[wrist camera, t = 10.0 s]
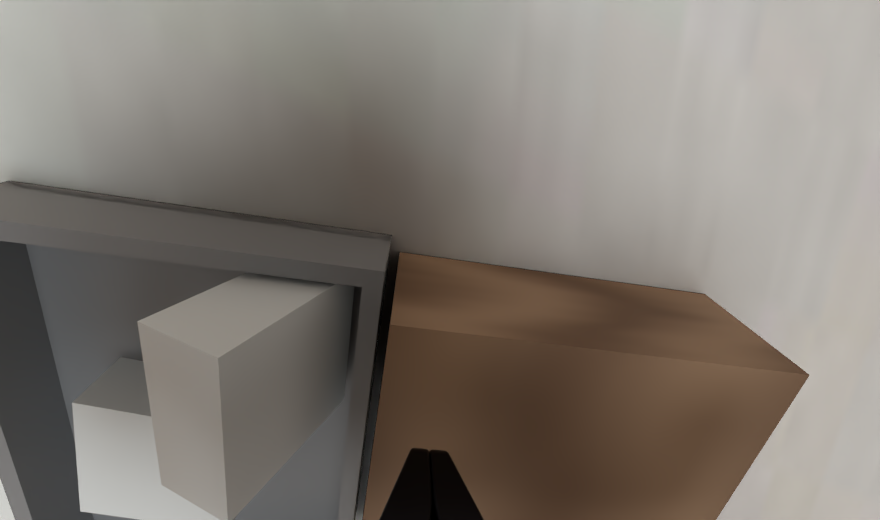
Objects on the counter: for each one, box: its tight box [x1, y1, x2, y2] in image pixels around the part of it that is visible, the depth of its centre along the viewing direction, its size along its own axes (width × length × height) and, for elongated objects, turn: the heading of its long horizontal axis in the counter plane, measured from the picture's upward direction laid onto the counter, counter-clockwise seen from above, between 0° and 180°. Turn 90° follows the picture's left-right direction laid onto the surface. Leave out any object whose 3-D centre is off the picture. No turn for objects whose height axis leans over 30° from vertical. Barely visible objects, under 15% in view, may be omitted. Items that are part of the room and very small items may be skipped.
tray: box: [0, 181, 392, 520], centre depth 13 cm, size 10×14×2 cm
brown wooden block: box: [362, 252, 809, 520], centre depth 14 cm, size 10×12×4 cm
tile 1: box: [72, 357, 236, 520], centre depth 13 cm, size 4×4×2 cm
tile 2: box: [137, 273, 354, 520], centre depth 10 cm, size 4×4×2 cm
